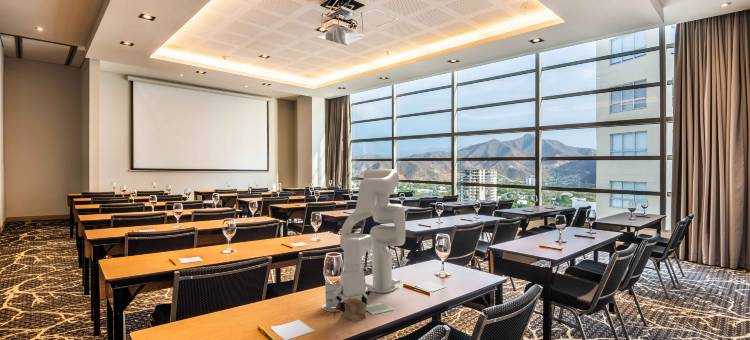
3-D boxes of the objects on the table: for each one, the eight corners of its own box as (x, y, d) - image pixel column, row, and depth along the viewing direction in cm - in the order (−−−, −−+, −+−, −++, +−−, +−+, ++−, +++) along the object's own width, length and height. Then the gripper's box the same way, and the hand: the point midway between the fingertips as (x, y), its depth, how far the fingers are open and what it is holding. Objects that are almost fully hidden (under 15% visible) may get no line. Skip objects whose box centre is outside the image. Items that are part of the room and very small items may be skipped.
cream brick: (357, 299, 182) (357, 286, 182) (363, 303, 177) (363, 290, 177) (345, 302, 180) (345, 289, 179) (351, 306, 174) (351, 292, 174)
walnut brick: (355, 311, 168) (354, 297, 168) (365, 318, 160) (365, 303, 160) (342, 314, 165) (342, 300, 165) (352, 321, 157) (352, 306, 157)
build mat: (381, 303, 177) (381, 302, 177) (393, 310, 168) (393, 309, 168) (361, 307, 172) (361, 306, 172) (372, 315, 163) (372, 314, 163)
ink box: (346, 304, 177) (345, 277, 176) (345, 308, 172) (344, 281, 171) (327, 304, 177) (326, 278, 176) (325, 308, 172) (325, 281, 171)
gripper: (367, 263, 170) (367, 303, 170) (329, 268, 161) (330, 310, 161) (375, 266, 163) (376, 308, 163) (336, 272, 155) (337, 316, 155)
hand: (353, 309), depth 162 cm, fingers open, 9 cm apart
